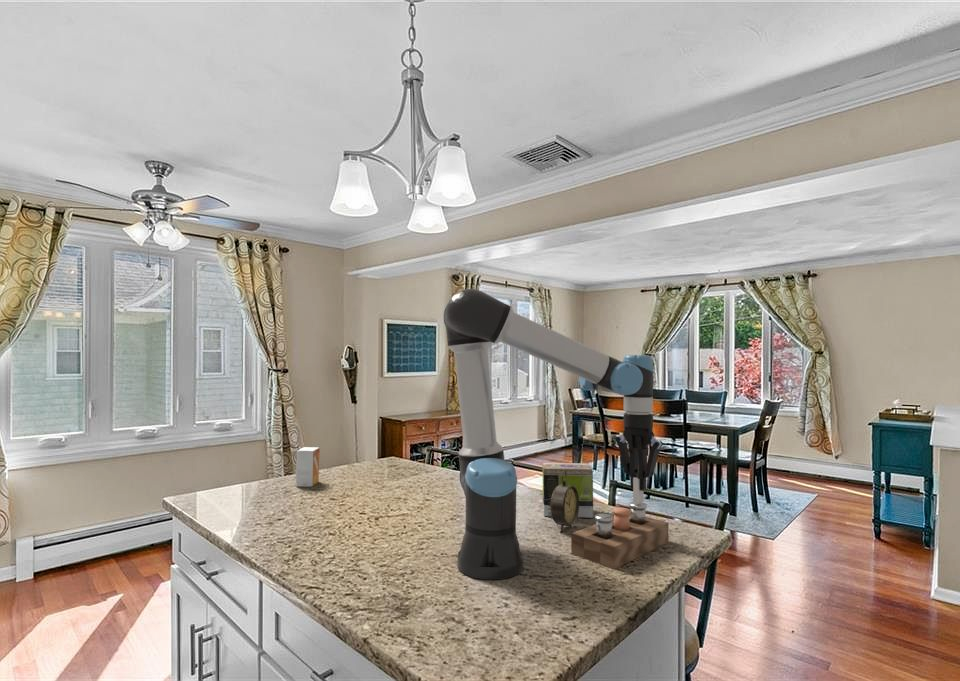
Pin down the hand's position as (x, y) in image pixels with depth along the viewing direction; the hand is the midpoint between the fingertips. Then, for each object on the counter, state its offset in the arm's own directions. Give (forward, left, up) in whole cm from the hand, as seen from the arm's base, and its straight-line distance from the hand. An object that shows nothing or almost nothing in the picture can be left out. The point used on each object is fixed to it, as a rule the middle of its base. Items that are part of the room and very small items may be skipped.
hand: (638, 501), depth 135 cm
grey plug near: (-16, 0, -6) cm, 17 cm away
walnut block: (-8, 0, -10) cm, 13 cm away
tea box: (+5, +27, -10) cm, 29 cm away
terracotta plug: (-8, 0, -6) cm, 10 cm away
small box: (-40, +112, -10) cm, 119 cm away
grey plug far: (0, 0, -6) cm, 6 cm away
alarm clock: (-7, +19, -10) cm, 23 cm away
